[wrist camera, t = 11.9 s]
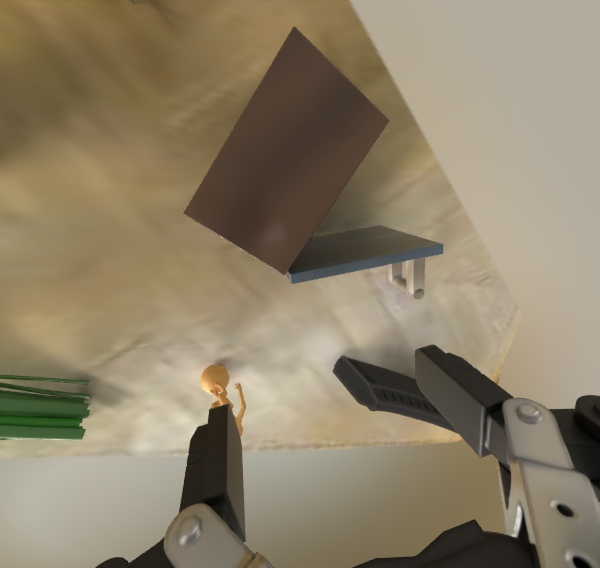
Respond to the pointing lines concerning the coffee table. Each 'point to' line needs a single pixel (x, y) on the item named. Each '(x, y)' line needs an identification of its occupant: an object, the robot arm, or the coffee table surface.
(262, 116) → the cupboard
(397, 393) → the magazine
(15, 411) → the daffodil flowers
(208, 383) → the figurine
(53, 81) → the coffee table surface
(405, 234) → the cupboard door
